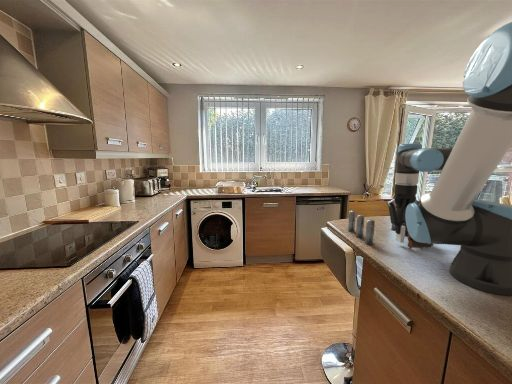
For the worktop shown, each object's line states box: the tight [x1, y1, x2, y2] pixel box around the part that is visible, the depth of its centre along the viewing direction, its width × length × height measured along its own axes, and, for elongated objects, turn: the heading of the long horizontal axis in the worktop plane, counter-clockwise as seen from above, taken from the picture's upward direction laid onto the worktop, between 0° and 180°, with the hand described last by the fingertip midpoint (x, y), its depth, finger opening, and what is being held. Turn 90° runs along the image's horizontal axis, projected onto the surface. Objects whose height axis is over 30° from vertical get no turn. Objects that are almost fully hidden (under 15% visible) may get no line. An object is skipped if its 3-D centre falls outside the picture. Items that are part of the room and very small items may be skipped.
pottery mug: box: [405, 229, 434, 250], centre depth 89 cm, size 12×10×8 cm
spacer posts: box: [347, 210, 408, 246], centre depth 100 cm, size 19×25×10 cm
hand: (399, 241), depth 90 cm, fingers closed
